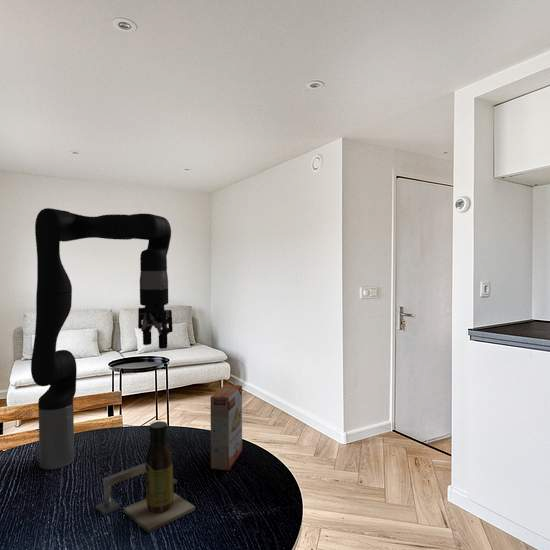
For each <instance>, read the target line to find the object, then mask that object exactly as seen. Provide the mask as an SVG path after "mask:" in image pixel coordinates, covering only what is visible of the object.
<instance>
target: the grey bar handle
mask: <svg viewBox="0 0 550 550" xmlns="http://www.w3.org/2000/svg"><path fill="white" fill-rule="evenodd" d="M141 474H146V467H145V462H144V463H141V464H138V465H136V466H132V467H130V468H127V469H125V470H122V471H119V472H117V473H114V474H111V475H108V476H105V477H103V478H102V486H103V501H102V502H101V503H99V504H96V505H95V510H97V511H98V512H99V513H100V515H102V516H105V515H107V514H109V513H112V512H114V511H116V510H119V509H120V508H121V507H120V504H119V503H118V502H117V501H116V500H114V499H113V498H112V486H113V485H115V484H118V483H121V482H123V481H126V480H129V479H131V478H134V477H136V476H139V475H141ZM177 484H178V479H176V478H174V477H173V486H174V485H177Z"/></svg>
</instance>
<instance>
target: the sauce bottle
mask: <svg viewBox="0 0 550 550" xmlns="http://www.w3.org/2000/svg"><path fill="white" fill-rule="evenodd" d="M148 427H149V435H150V436H149V437H150V441H149V443H150V444H149V446H148V449H147V453H146V456H145V457H144V461H145V462H144V463H145V467H146V472H145V494H146V496H145V498H146V501H147V506H148V509H149V510H150V511H151V512H162V511H166V510H168V509H169V508H170V507H171V506H172V505H173V497H174V493H175V492H174V485H173V478H174V464H173V463H174V461H173V450H172V448H171V447H170V445H169V443H168V438H167V436H168V435H167V434H168V433H167V432H168V431H167V430H168V423H167V422H165V421H155V422H154V421H153V422H152V423H150V424H149V426H148Z"/></svg>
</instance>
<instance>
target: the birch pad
mask: <svg viewBox="0 0 550 550" xmlns="http://www.w3.org/2000/svg"><path fill="white" fill-rule="evenodd" d="M122 510H123V511H122V512H123V513H125V515H127V516H128V517H129V518H131V520H133V521H134V522H135V523H136V524H137V525H139V526H140V527H141V528H142V530H144V531H145V532H147V533H148V534H150V533H152V532H155V531H156V530H158V529H161V528H163V527H164V526H167V525H168V524H170V523H173V522H175V521H176V520H179V519H180V518H182V517H184V516H186V515H188V514H190V513H193V512H194V511H196V506H195V505H193V503H191V502H189V501H187V500H186V499H185V498H183V497H182V496H180V495H178V494H177V493H176V492H174V497H173V505H172V506H171V507H170V508H169V509H168V510H166V511H162V512H151V511H150V510H149V509H148V506H147V501H146V497H145V498H143V499H141V500H138V501H136V502H134V503H131V504H129V505H127V506H125V507H123V508H122Z"/></svg>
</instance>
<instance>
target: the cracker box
mask: <svg viewBox="0 0 550 550" xmlns="http://www.w3.org/2000/svg"><path fill="white" fill-rule="evenodd" d="M242 451H243V386H242V385H241V384H225V385H224V386H222V387H221V388H220V389H219V390H217V391H216V392H214V393H213V394H212V395H211V396H210V469H211V470H220V471H230V470H231V468H232V466H233V465H234V463H235V462H236V461H237V459H238V457H240V454H241V453H242Z"/></svg>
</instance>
